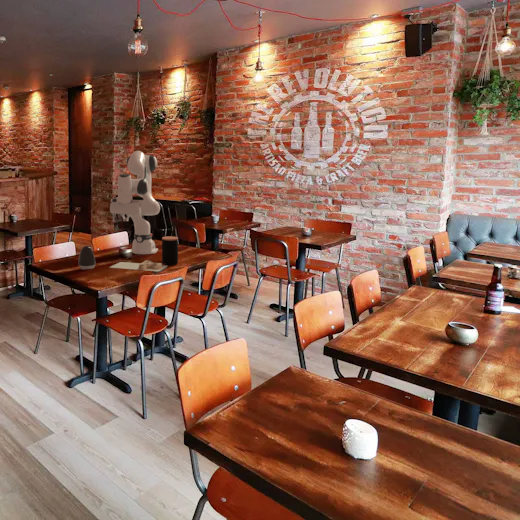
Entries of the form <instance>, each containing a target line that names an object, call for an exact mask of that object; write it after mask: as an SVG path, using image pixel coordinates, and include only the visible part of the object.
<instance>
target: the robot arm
mask: <svg viewBox="0 0 520 520" xmlns="http://www.w3.org/2000/svg"><path fill="white" fill-rule="evenodd" d="M126 166H127V170H128V172H130V173H131V174H132V175H135V176H136V178H132V175H131V174H129V173H121V174H119V175H118V178H117V190H118V192H117V196H116V197H114V198H111V199H110V204H109V212H110V213H111V214H113V215H114V214H116V215H117V214H119V215H121V216H120V217H122V221H123V222H129V219H130V218H131V220H132V221H133V226H134V234H133V238H134V239H133V240H132V247H131V248H132V249H131V250H133V252H132V254H135V255H152V254H153V255H154V254H156V253H157V252H158V251H159V248H157V247H156V243H155V241H154V240H153V239H152V237H153V233H151V224H150V222H149V221H148V220H146V219H145V218H143V216H156V215H157V216H158V214H159V213H160V211H161V205H160V203H159V202H158V201H157V200H156V199H155V198H154V197H153V194H152V193H153V192H152V181H153V180H152V179H153V178H152V173H153V172H154V171H156V169H157V168H158V159H157V157H156V156H155V155H152V154H151V155H149V154H148V155H147V154H145V153H144V152H143V151H140V150H135V151H133V152H132V154H131V155H129V156H128V157H127V159H126ZM133 194H135V195H137V196H138V197H141V198H142V199H133ZM125 215H126V216H125Z"/></svg>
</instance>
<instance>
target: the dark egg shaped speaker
mask: <svg viewBox="0 0 520 520" xmlns="http://www.w3.org/2000/svg"><path fill="white" fill-rule="evenodd" d="M93 251H94V250H92V247H91V245H85V246H83V247H82V248H81V249H80V251H79V256H78V263H77V265H78V266H79V269H80V270H82V271H83V270H92V269H94V268H95V266H96V263H97V262H96V257H95V254H94V252H93Z"/></svg>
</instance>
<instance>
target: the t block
mask: <svg viewBox="0 0 520 520" xmlns="http://www.w3.org/2000/svg"><path fill="white" fill-rule="evenodd" d="M162 265H163V263H162V262H156V261H155V262H153V260H144V261H143V262H141V264H139V269H147V268H153V269H160V268H162Z"/></svg>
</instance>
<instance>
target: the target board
mask: <svg viewBox="0 0 520 520" xmlns="http://www.w3.org/2000/svg"><path fill="white" fill-rule="evenodd" d="M141 263H142V262H141ZM141 263H138V262H126V261H119V262H117V263H116V264H112V265H111V266H109V268H111V269H124V270H136V271H138V270H139V271H150V272H151V273H152V274H160V273H161V272H163V271H164V269H165V270H166V269H168V268H169V267H168V266H169V265H165V264H162V268H160V269H153V268H147V269H139V264H141ZM167 267H168V268H167ZM159 272H160V273H159Z"/></svg>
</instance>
